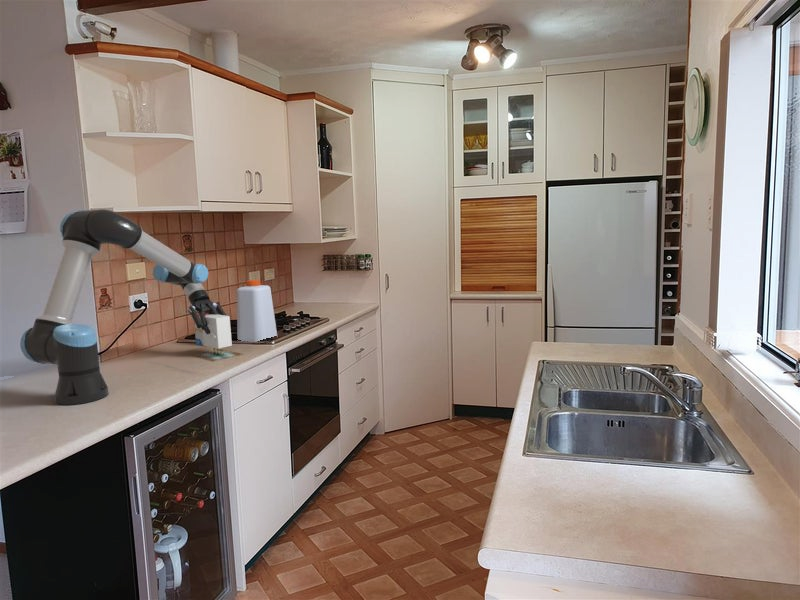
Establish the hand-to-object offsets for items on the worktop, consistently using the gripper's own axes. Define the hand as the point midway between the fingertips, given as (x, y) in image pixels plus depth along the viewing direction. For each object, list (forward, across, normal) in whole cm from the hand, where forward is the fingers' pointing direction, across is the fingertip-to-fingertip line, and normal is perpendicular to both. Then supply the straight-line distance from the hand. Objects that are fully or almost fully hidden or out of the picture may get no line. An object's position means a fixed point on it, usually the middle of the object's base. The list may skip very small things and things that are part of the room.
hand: (222, 337), depth 235 cm
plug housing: (0, 0, -5) cm, 5 cm away
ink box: (-17, -12, -29) cm, 36 cm away
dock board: (+4, 0, -9) cm, 9 cm away
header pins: (+3, 0, -8) cm, 8 cm away
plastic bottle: (-6, -29, -19) cm, 35 cm away
